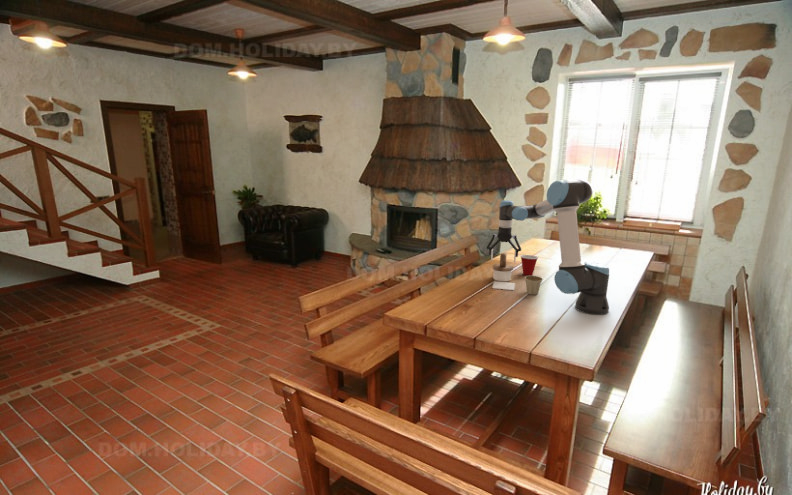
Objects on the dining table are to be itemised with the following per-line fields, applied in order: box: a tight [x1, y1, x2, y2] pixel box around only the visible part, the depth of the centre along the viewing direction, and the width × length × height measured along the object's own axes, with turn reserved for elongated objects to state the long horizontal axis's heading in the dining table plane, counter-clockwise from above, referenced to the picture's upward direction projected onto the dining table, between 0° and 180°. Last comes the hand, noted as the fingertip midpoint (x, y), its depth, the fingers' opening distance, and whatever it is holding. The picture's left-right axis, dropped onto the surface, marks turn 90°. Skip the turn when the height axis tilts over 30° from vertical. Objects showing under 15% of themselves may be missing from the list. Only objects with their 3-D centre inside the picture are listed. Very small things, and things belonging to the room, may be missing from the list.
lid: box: [492, 252, 514, 272], centre depth 252 cm, size 12×12×9 cm
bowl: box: [492, 269, 512, 282], centre depth 254 cm, size 10×10×6 cm
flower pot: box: [524, 275, 544, 296], centre depth 229 cm, size 9×9×9 cm
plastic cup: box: [520, 254, 539, 277], centre depth 262 cm, size 11×11×12 cm
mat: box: [491, 280, 516, 291], centre depth 241 cm, size 12×12×1 cm
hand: (503, 261), depth 252 cm, fingers open, 13 cm apart
